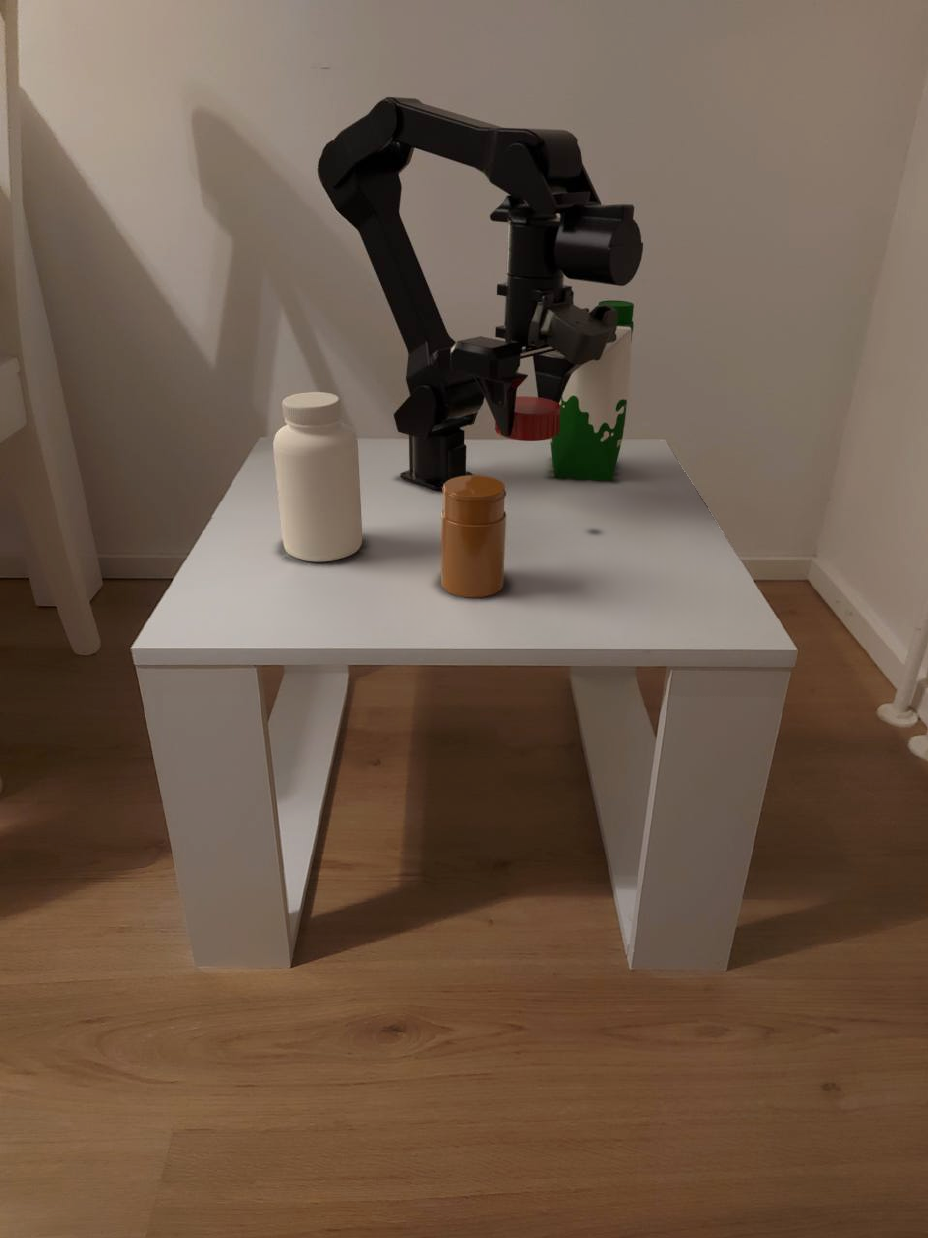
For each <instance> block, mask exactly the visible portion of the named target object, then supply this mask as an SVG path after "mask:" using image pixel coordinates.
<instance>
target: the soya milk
mask: <svg viewBox="0 0 928 1238" xmlns="http://www.w3.org/2000/svg"><path fill="white" fill-rule="evenodd" d="M604 304H608V305H610V306H611V307H613V308H614V309H616V310H617V329H616V332H615V334H616V336H617V338H616V341H614V342H611V343H607V344H606V347H605V349H604V352H603V354H602V356H601V359H600V360H597V361H596V360H591V361H588V362H587V363H585V364H583V365H582V366H581V367H579V368H578V369H577V370H575V371H574V372H573V373H572V375H571V376H570V379H569V381H568V383H567V385H566V387H565V390H564V392H563V395H562V397H561V400H560V402H559V404H560V412H561V415H560V429H559V432H558V435H557V436H555V437H554V438H551V439H549V443H550V453H551V463H552V472H553V478H556V479H570V480H571V479H572V480H585V481H601V482H613V479H614V476H615V472H616V467H617V463H618V460H619V456H620V451H621V447H622V442H623V438H624V437H623V436H624V430H625V425H626V417H627V416H626V415H627V408H628V396H629V389H630V378H631V364H632V342H633V332H634V325H635V324H634V321H633V318H634V308H635V303H633V302H632V301H631V302H630V301H627V300H626V301H625V300H613V299H612V300H610V299H609V300H602V301H599V302H598V305H597V306H599V305H604Z"/></svg>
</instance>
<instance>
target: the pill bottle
mask: <svg viewBox="0 0 928 1238" xmlns="http://www.w3.org/2000/svg"><path fill="white" fill-rule="evenodd" d="M281 404H282V414H283V417H284V422H285V423H286V425H285V424H284V426H282V427H281V428H280V429H279V430H278V431H277V432H276V433H275V435H274V438H273V443H272V447H273V449H272V450H273V458H274V467H275V478H276V489H277V497H278V508H279V517H280V528H281V538H282V543H283V548H284V549H285V551H286V553H287V554H288V555H289V556H291V557H294V558H295V559H297V560H302V561H307V562H331V561H337V560H340V559H341V560H342V559H345V558H347V557H349V556H352V555H353V554H355V553H356V552H357V551H359V549H360V548H361V546H362V543H363V519H362V500H361V497H362V496H361V479H360V478H361V477H360V461H359V458H360V457H359V442H358V438H357V435H356V432H355V431H354V430H353V429H352V428H351V427H350V426H348V425H347V424H345V423H344V422H342V421H343V415H342V406H341V405H342V403H341V399H340V397H339V396H338V395H336V394H333V393H329V392H323V391H309V392H300V393H295V394H291V395H288V396H287V397H285V398H284V399H283V400H282V403H281Z"/></svg>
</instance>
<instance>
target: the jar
mask: <svg viewBox="0 0 928 1238" xmlns="http://www.w3.org/2000/svg"><path fill="white" fill-rule="evenodd" d="M441 491H442V493H443V506H442V507H443V509H442V511H441V512H440V513H441V514H440V521H441V522H440V551H441V552H440V584H441V588H442V589H443V590H445V591H446V592H448V593H449V594H452V595H454V596H456V597H457V596H458V597H463V598H473V599H476V598H485V597H489V596H492V595H495V594H497V593H498V592H499V591H501V590H502V589H503V587H504V581H505V580H504V579H505V577H504V576H505V555H506V553H505V552H506V532H507V531H506V530H507V529H506V528H507V527H506V526H507V513H506V511H505V502H506V501H505V500H506V499H505V498H506V496H507V491H506V486H505V483H503V481H501V480H499V479H497V478H494V477H490V476H485V475H474V474H473V475H471V476H460V477H455V478H452V479H450V480H448V481H446V482H445V483H444V486H443V488H442V489H441Z"/></svg>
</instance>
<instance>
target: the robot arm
mask: <svg viewBox="0 0 928 1238" xmlns="http://www.w3.org/2000/svg"><path fill="white" fill-rule="evenodd" d="M415 149H417V150H421V151H423V152H426V153H429V154H433V155H435V156H438V157H441V158H443V159H447V160H449V161H453V162H456V163H459V164H462V165H465V166H467V167H471V168H473V169H475V170H477V171H479V172H480V173H482V174H483V175H484V176H485V178H486V179H487V180H488V181H489V183H490V184H491V185H493V186H494V187H497V188H498V189H500V190H501V191H503V192H504V193H506V194H508V195H506V196H505V198H504V199H503V201H502V202H501V204H500V205H498V206H497V207H496V208H495V209H494V210H493V211H492V212H491V213H490V215H489V219H490V221H492V222H496V223H506V224H507V248H506V274H505V282H503V283H497V284H496V296H500V297H501V296H502V297H505V299H504V322H503V323H504V324H502V325H499V326H495V333H494V336H495V338H492V337H486V336H481V335H479V336H475V337H471V338H466V339H460V340H457V341H455V340H454V339H453V338H452V337H451V335H450V334H449V333H448V330H447V328H446V326H445V323H444V321H443V318H442V315H441V313H440V310H439V308H438V306H437V303H436V301H435V298H434V295H433V293H432V290H431V289H430V286H429V284H428V281H427V279H426V278H427V277H426V276H425V274H424V271H423V269H422V266H421V263H420V262H419V259H418V257H417V254H416V251H415V249H414V246H413V244H412V241H411V240H410V237H409V234H408V231H407V229H406V227H405V224H404V221H403V220H402V217H401V213H400V211H401V210H400V209H401V199H402V191H403V185H402V181H401V177H400V174H401V173H402V172H403V171H404V170H405V169H406V168H407V167H408V166H409V164H410V163H411V162H412V161H411V160H412V157H413V155H414V151H415ZM581 150H582V149H581V148H580V146H579V140H578V138H577V137H576V135H574V134H573V133H572V132H570V131H568V130H567V129H566V130H565V129H549V128H520V127H503V126H500V125H496V124H493V123H491V122H486V121H483V120H478V119H477V118H473V117H469V116H466V115H463V114H460V113H456V112H452V111H449V110H447V109H442V108H439V107H436V106H433V105H430V104H426V103H424V102H422V101H421V100H420V99H418V98H416V97H415V98H414V97H397V96H386V97H384V98H382V99H381V100H379V101H378V102H377V103H376V104H375V105H374V106H373V108H372V109H371V110H370V111H369V113H367V114H366V115H364V116H363V117H360V118H359V119H358V120H357V121H355V122H353V123H352V124H350V125H349V126H347V127H346V128H344V129H343V130H341V131H340V132H339V133H338V134H337V135H336V136H335V137H334V138H333V139H331V140H329V141H328V142H327V143H326V144H325V146H323V148H322V151H321V154H320V157H318V158H319V159H318V162H317V163H318V164H317V176H318V179H319V182H320V185H321V187H322V189H323V191H324V192H325V194H326V197H328V200H329V201H330V203H331V205H332V206H333V209H334V210H335V211H336V212H337V213H338V215H340V216H341V217H342V218H343V219H344V220H345V221H347V223H349V224H350V225H351V226H352V227H353V228H354V229H355V230H356V231H357V233H358V234H359V236H360V239H361V241H362V243H363V245H364V249H365V251H366V253H367V256H368V258H369V260H370V263H371V265H372V268H373V270H374V272H375V275H376V277H377V279H378V282H379V284H380V287H381V290H382V292H383V294H384V297H385V300H386V302H387V304H388V306H389V309H390V312H391V313H392V316H393V319H394V321H395V323H396V326H397V328H398V331H399V333H400V336H401V338H402V340H403V342H404V345H405V347H406V350H407V354H408V355H407V362H406V373H405V382H406V386H407V389H408V392H409V395H408V397H407V398H406V400H404V402H403V403H401V405H400V406H399V407H398V408H397V409H396V411H395V412H394V413H393V418H394V423H395V426H396V430H397V432H398V433H401V434H404V435H408V462H409V463H408V464H409V465H408V466H409V468H408V470H405V471H403V472H400V473H399V478H400V479H403V480H405V481H409V482H412V483H414V484H417V485H420V486H423V487H426V488H429V489H432V490H436V491H438V490H439V491H440V490H442V488H443V486H444V483H445V482H446V481H448V480H450V479H452V478H455V477H460V476H471V475H474V473H473V472H470V471H467V444H465V429H461V428H465V427H467V426H474V424H475V423H476V419H477V416H478V413H479V411H480V410H481V408H482V406H483V405H484V402H485V401H486V404H487V405H488V408H489V410H490V412H491V414H492V417H493V419H494V423H495V422H496V424H497V426H498V429H499V431H500V433H501V435H503V436H507V437H508V436H510V435H511V432H512V427H513V421H514V411H515V402H516V397H517V392H518V388H519V387H520V386H521V385H522V383H524V382H525V380H526V379H527V378H528V374H526V373H521V372H519V368H520V366H521V360H523V359H526V358H530V357H532V361H533V368H534V376H535V385H536V392H537V397H540V398H545V399H550V400H553V401H555V402H557V403H559V402H560V400H561V397H562V395H563V392H564V390H565V387H566V385H567V383H568V381H569V379H570V376H571V375H572V373H573V372H574V371H575V370H577V369H578V368H579V367H581V366H582V365H583V364H585V363H587V362H588V361H591V360H596V361H597V360H600V359H601V356H602V354H603V352H604V349H605V347H606V344H607V343H611V342H614V341H616V338H617V336H616V334H615V332H616V329H617V310H616V309H614V308H613V307H611V306H610V305H608V304H604V305H599V306H598V305H596V306H595V307H593V308H592V310H590V308H588V307H584V308H580V307H579V306H577V305H575V303H574V299H575V298H574V296H575V293H574V290H573V286H572V285H567V284H564V282H565V281H564V280H565V277H566V278H567V279H569V280H573V281H580V282H581V281H582V282H589V283H595V284H604V285H610V286H616V287H617V286H618V287H625V286H627V285H628V284H630V283H631V282H632V280H633V279H634V277H635V276H636V274H637V272H638V269H639V268H640V265H641V262H642V257H643V251H644V243H643V242H642V235H641V234H642V233H641V230H640V227H639V224H638V222H637V221H636V220H635V219H634V218H635V217H634V216H635V206H634V204H631V203H617V204H616V203H615V204H602V201H601V200H600V198H599V195H598V193H597V191H596V189H595V187H594V185H593V182H592V180H591V178H590V176H589V173H588V172H587V170H586V167H585V165H584V163H583V158H582V151H581ZM557 214H559V217H558V215H557ZM497 338H498V339H497ZM501 339H504V340H501ZM503 436H502V437H503Z"/></svg>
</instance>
